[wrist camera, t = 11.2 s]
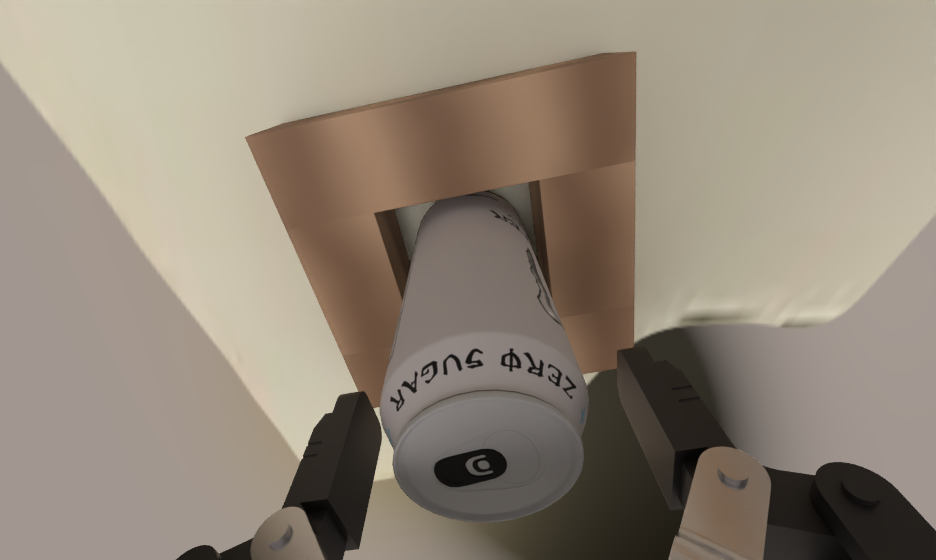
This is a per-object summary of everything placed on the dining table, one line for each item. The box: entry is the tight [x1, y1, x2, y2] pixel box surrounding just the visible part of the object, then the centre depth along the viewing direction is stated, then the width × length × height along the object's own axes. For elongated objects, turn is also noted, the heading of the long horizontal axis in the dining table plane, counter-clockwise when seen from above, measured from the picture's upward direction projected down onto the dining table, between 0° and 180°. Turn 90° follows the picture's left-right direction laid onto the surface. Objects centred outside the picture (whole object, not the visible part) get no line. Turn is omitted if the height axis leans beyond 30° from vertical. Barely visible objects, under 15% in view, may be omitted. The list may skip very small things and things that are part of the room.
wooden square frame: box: [245, 52, 636, 408], centre depth 21 cm, size 16×16×4 cm
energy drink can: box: [380, 191, 589, 522], centre depth 17 cm, size 6×6×15 cm
